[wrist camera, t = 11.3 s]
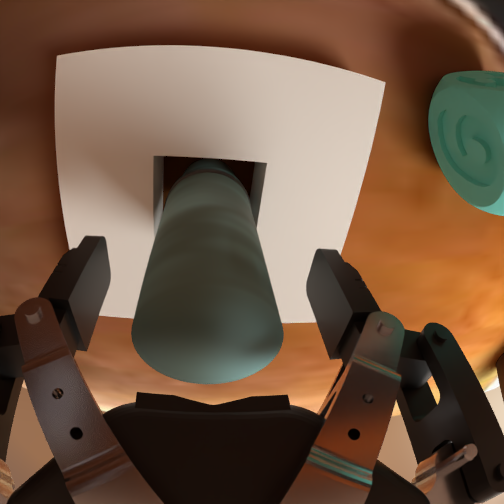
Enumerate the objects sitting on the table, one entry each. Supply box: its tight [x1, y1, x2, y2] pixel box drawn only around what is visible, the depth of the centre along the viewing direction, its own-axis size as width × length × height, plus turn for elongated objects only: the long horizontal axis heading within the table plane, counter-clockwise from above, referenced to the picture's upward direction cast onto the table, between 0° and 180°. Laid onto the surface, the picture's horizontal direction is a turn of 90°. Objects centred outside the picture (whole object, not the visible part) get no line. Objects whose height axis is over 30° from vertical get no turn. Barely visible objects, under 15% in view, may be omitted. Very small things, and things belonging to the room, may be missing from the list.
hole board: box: [55, 45, 386, 323], centre depth 16 cm, size 16×16×4 cm
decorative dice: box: [428, 71, 504, 216], centre depth 13 cm, size 8×8×8 cm
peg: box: [131, 159, 283, 384], centre depth 13 cm, size 4×4×12 cm
